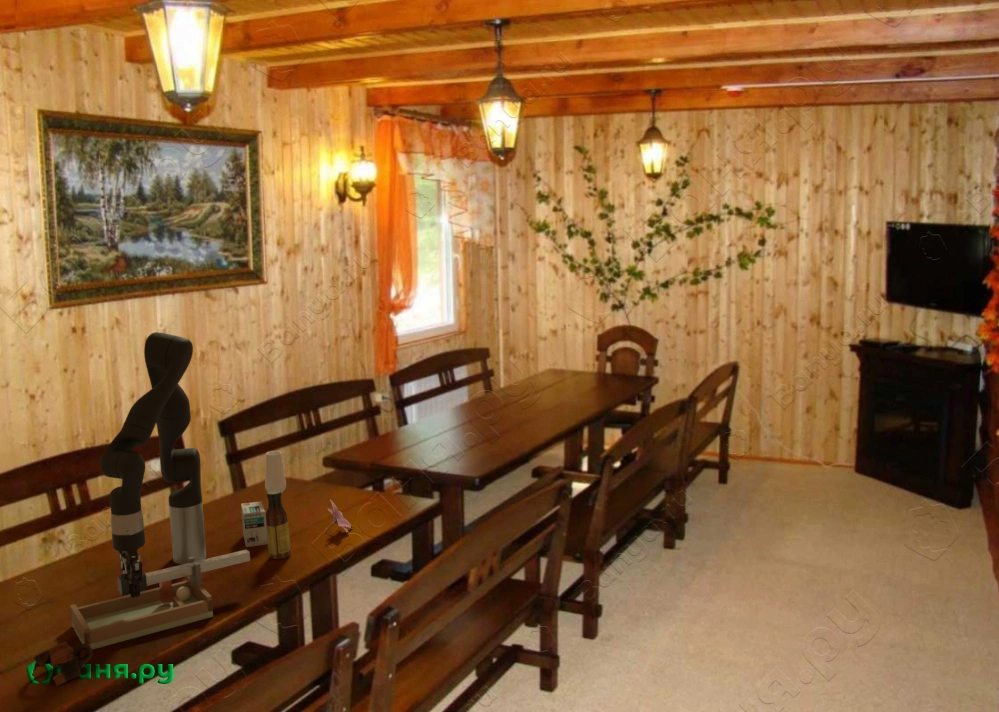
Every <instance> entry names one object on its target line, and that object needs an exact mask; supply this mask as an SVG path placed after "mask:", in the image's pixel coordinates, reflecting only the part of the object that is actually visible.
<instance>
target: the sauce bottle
mask: <svg viewBox="0 0 999 712" xmlns="http://www.w3.org/2000/svg"><path fill="white" fill-rule="evenodd" d="M266 492H267V493H266V497H267V501H268V504H267V505H268V508H267V509H266V527H267V541H268V544H267V546H268V547H267V548H268V553H269V556H270V558H271V559H272V560H273V559H274V560H283V559H286V558H288V557H289V556H290V555H291V539H290V530H289V520H288V514H287V512H286V510H285V509H284V506H283V504H282V493H281V491H280V490H272V491H269V492H268V491H266Z"/></svg>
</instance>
